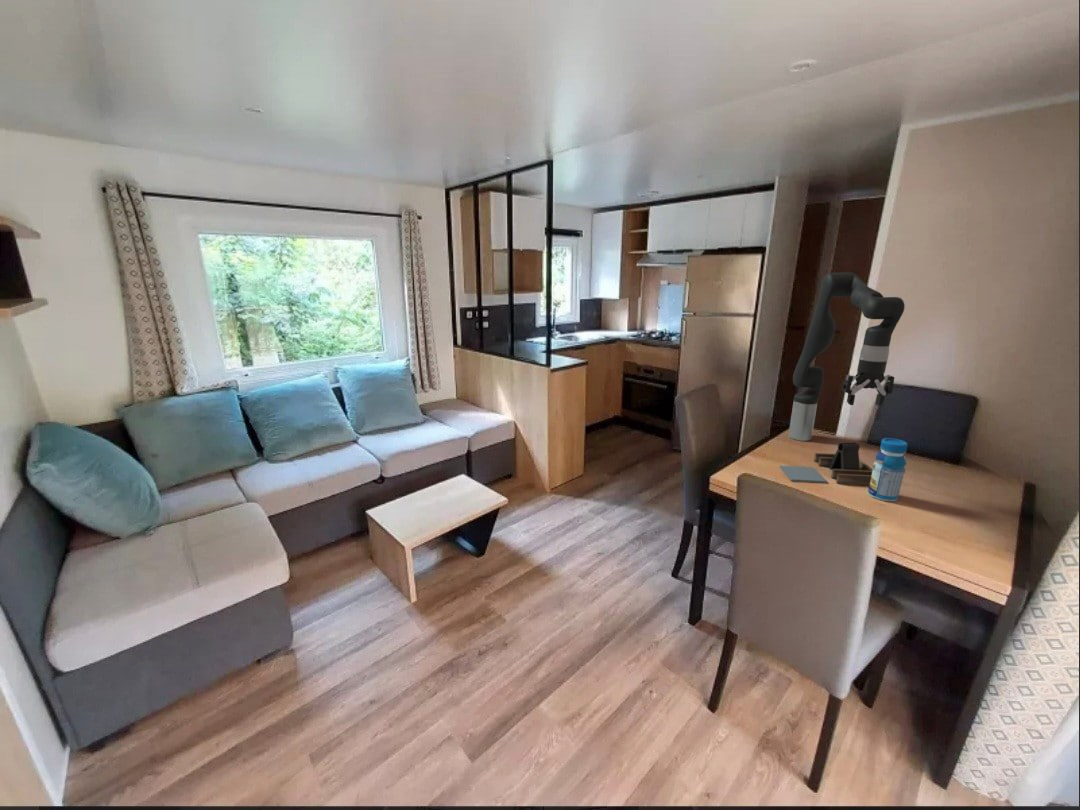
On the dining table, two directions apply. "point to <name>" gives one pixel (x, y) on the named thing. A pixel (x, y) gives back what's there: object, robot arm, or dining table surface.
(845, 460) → the phone stand
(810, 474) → the slate mat
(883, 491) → the blue pill bottle
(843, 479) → the walnut rack
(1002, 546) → the dining table surface
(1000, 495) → the dining table surface
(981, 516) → the dining table surface
